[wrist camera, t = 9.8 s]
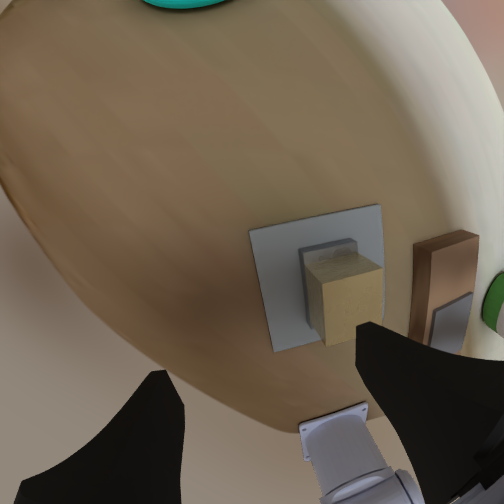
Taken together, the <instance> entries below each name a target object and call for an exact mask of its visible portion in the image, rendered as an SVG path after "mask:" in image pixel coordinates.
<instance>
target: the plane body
mask: <svg viewBox="0 0 504 504" xmlns="http://www.w3.org/2000/svg"><path fill="white" fill-rule="evenodd" d="M413 246H414V261H413V290H412V305H411V317H410V326H409V335H408V338H409V339H412V340H414V341H417V342H419V343H422V344H424V345H427V346H430V347H433V348H435V349H438V350H441V351H445V352H448V353H452V354H456V355H460V352H461V349H462V345H463V341H464V337H465V333H466V329H467V325H468V320H469V315H470V310H471V305H472V300H473V293H474V287H475V280H476V271H477V262H478V250H479V235H477V234H474V233H471V232H468V231H465V230H459V231H456V232H453V233H449V234H446V235H443V236H440V237H436V238H433V239H430V240H426V241H423V242H419V243H416V244H413Z"/></svg>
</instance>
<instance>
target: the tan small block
mask: <svg viewBox="0 0 504 504" xmlns="http://www.w3.org/2000/svg"><path fill="white" fill-rule="evenodd" d="M298 252H299V259H300V267H301V275H302V284H303V293H304V302H305V311H306V321H307V324H308V325H309V327H310V329H311V330H313V329H315V330H316V331H317V333H318V335H319V336H320V338H321V340H322V341H323V343H324V345H325V346H326V347H328V346H332V345H335V344H339V343H342V342H345V341H348V340H351V339H355V338H356V326H357V325H360V324H363V323H366V322H369V321H371V322H374V323H376V324H378V325H380V326H381V325H382V307H383V268H382V267H381V266H379V265H378V264H376V263H374V262H373V261H371V260H369V259H368V258H366V257H365V256H363V255H361V254H360V253H358V244H357V241H355V240H353V239H352V238H346V239H341V240H336V241H331V242H327V243H322V244H317V245H312V246H307V247H303V248H298Z"/></svg>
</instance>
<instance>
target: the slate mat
mask: <svg viewBox="0 0 504 504" xmlns="http://www.w3.org/2000/svg"><path fill="white" fill-rule="evenodd" d="M249 235H250V240H251V245H252V250H253V254H254V259H255V264H256V269H257V274H258V278H259V283H260V288H261V293H262V298H263V303H264V307H265V312H266V317H267V322H268V327H269V332H270V336H271V341H272V346H273V350H274V352H278V351H282V350H286V349H289V348H293V347H297V346H301V345H304V344H308V343H312V342H315V341H318V340H321V338H320V336H319V335H318V333H317V331H316V330H315V329H313V330H311V329H310V327H309V325H308V324H307V321H306V311H305V302H304V293H303V284H302V275H301V267H300V259H299V252H298V248H303V247H307V246H312V245H317V244H322V243H327V242H331V241H336V240H341V239H346V238H352V239H353V240H355V241H357V244H358V253H360V254H361V255H363V256H365V257H366V258H368V259H369V260H371V261H373V262H374V263H376V264H378V265H379V266H381V267H382V268H383V307H382V319H384V287H385V282H384V244H383V228H382V215H381V205H380V204H374V205H369V206H364V207H358V208H353V209H348V210H343V211H338V212H333V213H328V214H323V215H318V216H313V217H308V218H303V219H299V220H294V221H289V222H284V223H280V224H275V225H270V226H266V227H261V228H256V229H252V230H249Z"/></svg>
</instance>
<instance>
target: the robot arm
mask: <svg viewBox="0 0 504 504" xmlns="http://www.w3.org/2000/svg"><path fill="white" fill-rule="evenodd" d="M355 366H356V368H357V370H358V372H359V374H360V376H361V378H362V380H363V382H364V384H365V386H366V387H367V389H368V390H369V392H370V393H371V395H372V396H373V398H374V399H375V401H376V402H377V403H378V405H379V406H380V408H381V409H382V411H383V412H384V414H385V415H386V416H387V418H388V419H389V421H390V422H391V424H392V425H393V427H394V429H395V430H396V432H397V434H398V436H399V438H400V440H401V442H402V444H403V446H404V448H405V450H406V453H407V455H408V457H409V459H410V462H411V464H412V466H413V469H414V471H415V474H416V477H417V480H418V482H419V485H420V488H421V491H422V494H421V492H420V490H419V488H418V486H417V484H416V483H415V481H414V479H413V478H412V476H411V475H410V474H409V473H408V471H406V470H401V469H398V470H396V471H395V473H394V471H393V470H392V468H391V466H389V467H388V466H387V463H386V462H385V460H384V458H383V456H382V454H381V452H380V451H379V449H378V447H377V445H376V443H375V442H374V440H373V438H372V436H371V434H370V432H369V431H368V429H367V427H366V425H365V423H366V417H367V410H368V404H367V402H363V403H361V404H358V405H356V406H353V407H350V408H347V409H345V410H342V411H339V412H336V413H333V414H330V415H327V416H324V417H321V418H317V419H314V420H311V421H307V422H303V423H301V424H300V425H299V431H300V437H301V444H302V450H303V457H304V461H306V462H308V461H311V462H312V465H313V468H314V471H315V474H316V477H317V480H318V483H319V486H320V489H321V492H322V495H323V497H321V498H320V502H321V504H450V503H451V502H453V501H454V500H456V499H457V498H458V497H460V498H459V499H458V500H456V501H455V502H454V503H452V504H504V361H497V360H485V359H477V358H470V357H465V356H461V355H456V354H452V353H448V352H445V351H441V350H438V349H435V348H433V347H430V346H427V345H424V344H422V343H419V342H417V341H414V340H412V339H409V338H407V337H405V336H402V335H400V334H398V333H396V332H394V331H391V330H389V329H387V328H385V327H383V326H380V325H378V324H376V323H374V322H371V321H369V322H366V323H363V324H360V325H357V326H356V362H355ZM184 413H185V412H184V404H183V402H182V400H181V398H180V397H179V395H178V393H177V391H176V389H175V387H174V385H173V383H172V381H171V379H170V377H169V375H168V373H167V371H166V370H159V371H152V372H150V373H149V375H148V376H147V377H146V378H145V379H144V381H143V382H142V383H141V385H140V386H139V387H138V389H137V390H136V391H135V392H134V393H133V395H132V396H131V397H130V398H129V400H128V401H127V402H126V403H125V405H124V406H123V407H122V408H121V410H120V411H119V412H118V413H117V414H116V415H115V416H114V417H113V419H112V420H111V421H110V422H109V423H108V424H107V426H105V427H104V428H103V429H102V431H100V432H99V433H98V434H97V435H96V436H95V437H94V438H93V439H92V440H91V441H90V442H88V443H87V444H86V445H85V446H84V447H82V448H81V449H80V450H78V451H77V452H75V453H74V454H73V455H71V456H70V457H69V458H67V459H66V460H64V461H63V462H61V463H59V464H58V465H56V466H54V467H52V468H50V469H49V470H47V471H45V472H42V473H40V474H38V475H35V476H33V477H30V478H28V479H25V480H23V481H22V482H21V484H20V487H19V490H18V492H17V495H16V498H15V501H14V504H181V489H180V473H181V462H182V452H183V442H184V432H185V414H184ZM422 495H423V496H422ZM423 498H424V499H423Z"/></svg>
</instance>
